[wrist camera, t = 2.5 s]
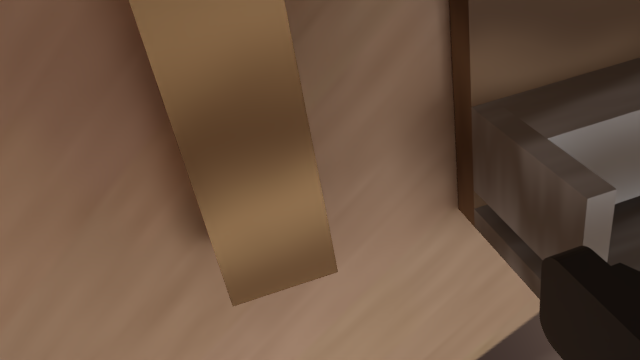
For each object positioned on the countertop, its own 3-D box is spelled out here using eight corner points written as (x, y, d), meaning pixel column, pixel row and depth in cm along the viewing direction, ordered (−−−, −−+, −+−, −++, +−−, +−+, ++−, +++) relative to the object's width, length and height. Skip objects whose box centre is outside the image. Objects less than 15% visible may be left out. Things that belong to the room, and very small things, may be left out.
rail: (105, -97, 18) (102, -76, 14) (233, -125, 19) (262, -112, 15) (215, 235, 25) (233, 306, 22) (305, 207, 26) (337, 271, 22)
